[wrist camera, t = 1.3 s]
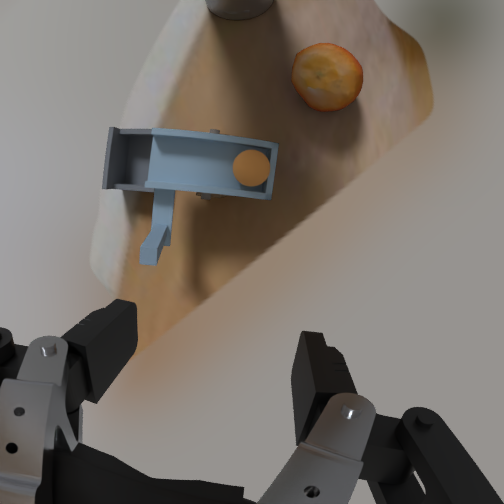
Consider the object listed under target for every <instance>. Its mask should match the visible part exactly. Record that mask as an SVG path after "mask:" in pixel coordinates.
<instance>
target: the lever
mask: <svg viewBox="0 0 504 504" xmlns="http://www.w3.org/2000/svg"><path fill="white" fill-rule="evenodd" d="M151 134H152V135H153V141H152V148H151V156H150V164H149V172H148V181H145V188H155V191H154V202H153V213H152V227H151V232H150V233H149V235H148V236H147V238H146V239H145V241H144V242H143V244H142V245H141V247H140V264H145V265H157V262H158V260H159V257H160V254H161V251H162V248H163V246H170V242H171V229H172V218H173V207H174V197H175V190H182V191H193V192H203V193H213V194H222V195H232V196H240V197H249V198H257V199H265V200H271V197H272V190H273V183H274V175H275V168H276V161H277V154H278V146H279V143H274V142H269V141H263V140H257V139H251V138H244V137H237V136H230V135H222V134H214V133H206V132H197V131H187V130H176V129H163V128H152V132H151ZM246 150H257V151H260V152H262V153H263V154H264V155H265V156H266V157H267V158H268V160H269V163H270V173H269V176H268V178H267V179H266V180H265V181H264V182H263V183H262V184H260V185H257V186H252V187H251V186H245V185H243V184H241V183H240V182H239V181H238V180H237V179H236V178H235V176H234V174H233V162H234V160H235V158H236V157H237V156H238V155H239V154H240V153H241V152H243V151H246Z"/></svg>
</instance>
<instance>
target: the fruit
mask: <svg viewBox="0 0 504 504" xmlns="http://www.w3.org/2000/svg"><path fill="white" fill-rule="evenodd" d="M291 81H292V83H293V85H294V87H295V89H296V91H297V92H298V93H299V94H300V96H301V97H302V98H303V99H304V101H305V102H306V103H307V105H308V106H309V107H311V108H313V109H314V110H317V111H321V112H327V111H336V110H340V109H343V108H345V107H346V106H348V105H349V104H350V103H352V102H353V101H354V100H355V99H356V98H357V96H358V95H359V93H360V91H361V88H362V84H363V70H362V67H361V65H360V64H359V62H358V61H357V60H356V58H355V57H354V56H353V55H352V54H351V53H350V52H349V51H347V50H346V49H344V48H342V47H339V46H337V45H334V44H330V43H318V44H316V45H312V46H310V47H307V48H305V49H303V50H302V51H301V52H299V53H297V55H296V57H295V60H294V64H293V67H292V79H291Z"/></svg>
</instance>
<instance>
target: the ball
mask: <svg viewBox="0 0 504 504" xmlns="http://www.w3.org/2000/svg"><path fill="white" fill-rule="evenodd" d="M269 173H270V163H269V160H268V158H267V157H266V156H265V155H264V154H263V153H262V152H260V151H257V150H246V151H243V152H241V153H240V154H239V155H238V156H237V157H236V158H235V160H234V162H233V174H234V176H235V178H236V179H237V180H238V181H239V182H240V183H241V184H243V185H245V186H251V187H252V186H257V185H260V184H262V183H263V182H264V181H265V180H266V179H267V178H268V176H269Z"/></svg>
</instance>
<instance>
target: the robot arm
mask: <svg viewBox="0 0 504 504" xmlns="http://www.w3.org/2000/svg"><path fill="white" fill-rule="evenodd" d="M205 1H206V4H207V6H208V8H209V9H210V11H211V12H213V13H214V14H215V15H217V16H219V17H222V18H225V19H231V20H243V19H249V18H252V17H255V16H258V15H260V14H262V13H263V12H265V11H266V10H267V9H268V8H269V7H270V6H271V5H272V3H273V1H274V0H205ZM137 342H138V331H137V306H136V304H135V303H134V302H129V301H125V300H121V299H116V300H114V301H113V302H112V303H111V304H109V305H108V306H107V307H106V308H101V309H99V310H96V311H93V312H92V313H90V314H89V315H88V316H86V317H85V319H83V320H81V321H80V322H79V324H76V325H75V326H74V327H73V328H71V329H70V330H69V331H68V332H66V333H65V334H64V335H63V336H62V337H56V336H43V337H40V338H37V339H35V340H33V341H32V342H31V343H30V345H29V346H23V345H17V344H14V342H13V337H12V334H11V332H10V331H9V330H8V329H5V328H1V327H0V504H348V502H349V500H350V498H351V495H352V493H353V491H354V488H355V486H356V483H357V480H358V479H362V480H367V482H368V485H369V487H370V490H371V492H372V494H373V497H374V499H375V502H376V504H504V503H503V502H502V500H501V499H500V498H499V496H498V495H497V493H496V491H495V490H494V489H493V487H492V486H491V484H490V483H489V481H488V480H487V479H486V477H485V476H484V474H483V473H482V472H481V470H480V469H479V467H478V466H477V465H476V463H475V462H474V461H473V459H472V458H471V457H470V455H469V454H468V452H467V451H466V450H465V448H464V447H463V446H462V444H461V443H460V442H459V440H458V439H457V438H456V436H455V435H454V434H453V432H452V431H451V430H450V429H449V427H448V426H447V425H446V423H445V422H444V421H443V419H442V418H441V417H440V416H439V415H438V414H437V413H435V412H434V411H432V410H430V409H427V408H423V407H413V408H410V409H408V410H407V411H405V413H404V414H403V416H402V418H401V419H398V418H393V417H388V416H383V415H379V414H377V413H376V410H375V407H374V405H373V404H372V403H371V402H370V401H369V400H368V399H366V398H364V397H363V396H360V395H358V393H357V391H356V388H355V386H354V383H353V380H352V377H351V375H350V373H349V370H348V367H347V365H346V362H345V360H344V357H343V355H342V354H341V353H340V352H339V351H338V350H337V349H336V348H335V347H328V346H327V345H326V342H325V339H324V336H323V333H317V332H309V331H302V332H301V335H300V339H299V343H298V347H297V351H296V355H295V359H294V363H293V368H292V375H291V385H292V397H293V409H294V421H295V434H296V445H297V446H298V447H297V448H296V450H295V451H294V453H293V454H292V456H291V458H290V459H289V461H288V462H287V463H286V465H285V466H284V468H283V469H282V470H281V472H280V473H279V474H278V476H277V477H276V479H275V480H274V481H273V483H272V484H271V485H270V487H269V488H268V489H267V491H266V492H265V493H264V495H263V496H262V497H261V498H260V500H259V501H258V502H257V503H256V502H254V501H251V500H248V499H245V498H243V494H244V487H239V486H231V485H224V484H218V483H211V482H206V481H201V480H172V479H156V478H151V477H148V476H147V475H145V474H143V473H141V472H139V471H138V470H136V469H134V468H132V467H131V466H129V465H127V464H125V463H124V462H122V461H120V460H119V459H117V458H116V457H114V456H111V455H109V454H106V453H104V452H101V451H98V450H96V449H94V448H91V447H89V446H86V445H84V444H82V423H83V409H82V406H81V403H82V402H83V401H84V399H85V400H87V401H90V402H93V403H96V404H97V402H98V401H99V400H100V398H101V397H102V396H103V394H104V393H105V391H106V390H107V389H108V388H109V386H110V385H111V383H112V382H113V381H114V379H115V378H116V377H117V375H118V374H119V373H120V371H121V370H122V369H123V367H124V366H125V365H126V363H127V362H128V361H129V359H130V358H131V357H132V355H133V354H134V352H135V350H136V347H137ZM414 471H416V472H417V474H418V476H419V478H420V479H421V481H422V483H423V485H424V487H425V490H426V495H425V494H424V492H423V490H422V488H421V486H420V484H419V482H418V481H417V479H416V477H415V475H414V473H413V472H414Z"/></svg>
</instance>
